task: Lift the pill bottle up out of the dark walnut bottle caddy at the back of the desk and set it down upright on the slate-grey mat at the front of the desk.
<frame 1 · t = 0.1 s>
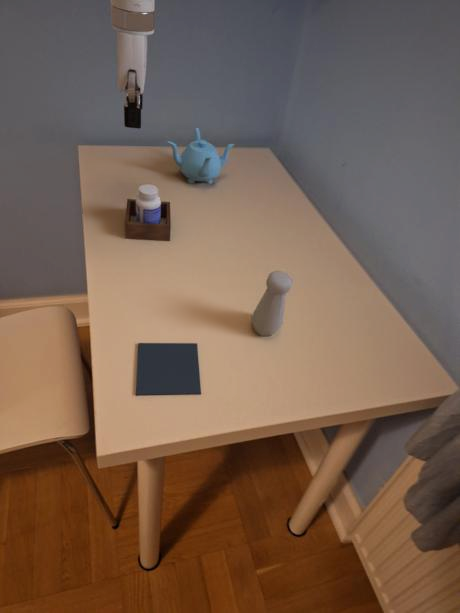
hand: (133, 117, 84), 20 cm above the table, tool pointing down, fingers open, 9 cm apart
teapot: (197, 177, 112), on the table
mat: (168, 368, 66), on the table
pill bottle: (148, 227, 92), resting in caddy
caddy: (148, 227, 92), on the table
salt shaker: (264, 328, 76), on the table
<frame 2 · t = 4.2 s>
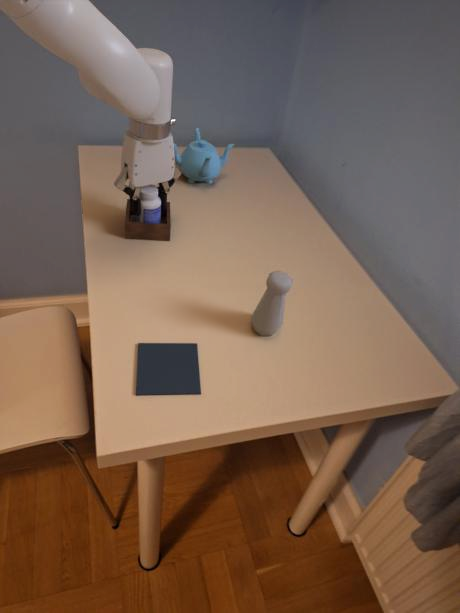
hand: (148, 208, 89), 5 cm above the table, tool pointing down, fingers closed on pill bottle, 5 cm apart
pill bottle: (148, 227, 92), resting in caddy, touching gripper
everything else where it was.
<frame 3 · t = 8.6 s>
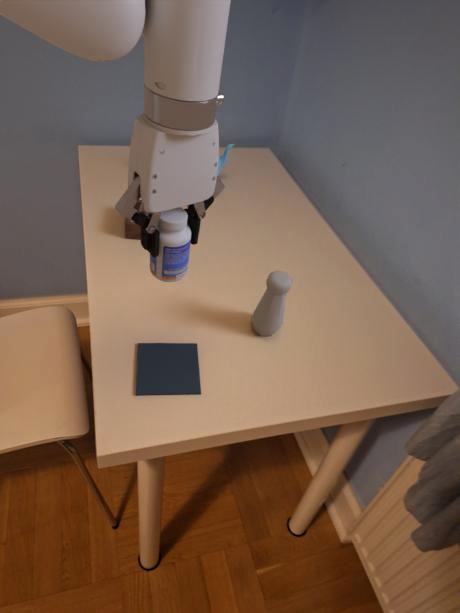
hand: (170, 243, 55), 21 cm above the table, tool pointing down, fingers closed on pill bottle, 5 cm apart
pill bottle: (168, 271, 59), point 16 cm above the table, touching gripper
everything else where it was.
when the fingers open (5 cm above the table, at t = 13.1 s): pill bottle stays where it is, resting on mat.
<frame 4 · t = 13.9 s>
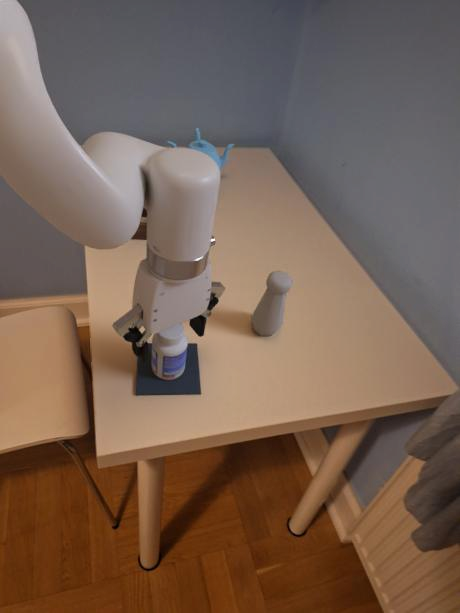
hand: (169, 342, 61), 7 cm above the table, tool pointing down, fingers open, 9 cm apart
pill bottle: (168, 367, 66), resting on mat
everything else where it was.
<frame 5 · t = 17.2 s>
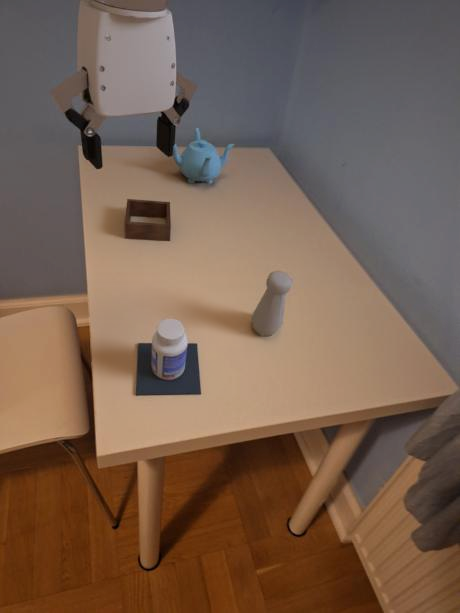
hand: (131, 157, 51), 30 cm above the table, tool pointing down, fingers open, 9 cm apart
nothing on the table moved.
at the end: pill bottle inside the target area on the mat (0.1 cm from its centre), point 0.2 cm above the mat's base; pill bottle tilted 0°; the gripper is holding nothing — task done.
